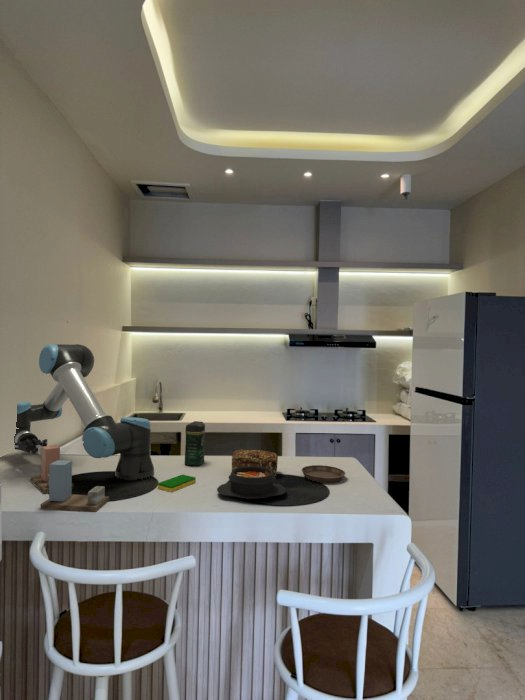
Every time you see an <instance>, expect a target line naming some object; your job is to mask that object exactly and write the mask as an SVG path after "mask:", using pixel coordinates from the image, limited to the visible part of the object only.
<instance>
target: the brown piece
mask: <svg viewBox="0 0 525 700" xmlns="http://www.w3.org/2000/svg"><path fill="white" fill-rule="evenodd" d="M41 477H42V474H39V475H31V476H30V477H29V479H30V480H31V481H32V482H33V483H34V484H35V485H36V486H37V487H36V486H35V487H36V488H37V489H39V490H40V491H41V492H42V494H44V495H45V494H46V495H47V494H49V475H47V482H45V481H44V480H43V479H42V478H41ZM31 481H30V482H31ZM32 482H31V483H32ZM33 483H32V484H33ZM34 484H33V485H34ZM74 486H75V485H74V483H73V482H72V487H74Z"/></svg>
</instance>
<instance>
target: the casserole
mask: <svg viewBox="0 0 525 700" xmlns="http://www.w3.org/2000/svg"><path fill="white" fill-rule="evenodd" d="M276 478H277V477H275V476H274V475H273V472H272V471H271V470H270V469H267V468H264V467H257V466H245V467H239V468H235V469H233V470H232V469H231V472H230V474H229V475H228V480H229V483H222V484H221V485H219V486H218V487H217V488H216V491H217V493H218V494H219V495H221V496H225V497H235V498H238V499H242V498H245V499H244V500H249V499H256V500H261V499H260V498H262V499H265V498H271V497H276V496H282V495H284V494H285V493H286V492H287V489H286V486H284V485H283V484H280V483H274V481H276Z"/></svg>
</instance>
